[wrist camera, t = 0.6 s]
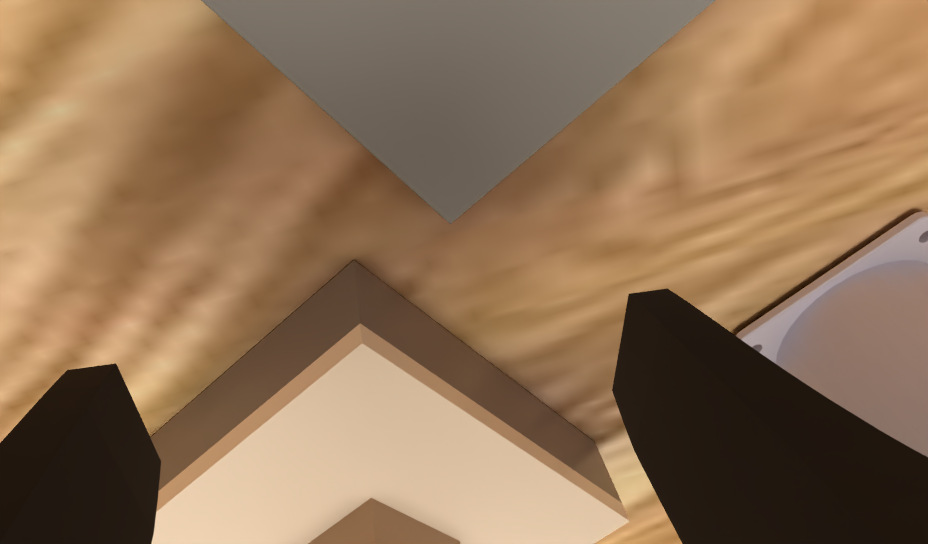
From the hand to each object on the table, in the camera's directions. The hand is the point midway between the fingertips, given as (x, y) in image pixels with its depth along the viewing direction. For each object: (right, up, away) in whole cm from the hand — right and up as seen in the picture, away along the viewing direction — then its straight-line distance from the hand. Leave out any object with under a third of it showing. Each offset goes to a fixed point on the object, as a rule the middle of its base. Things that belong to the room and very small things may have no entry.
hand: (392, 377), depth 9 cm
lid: (-2, -8, +14) cm, 16 cm away
